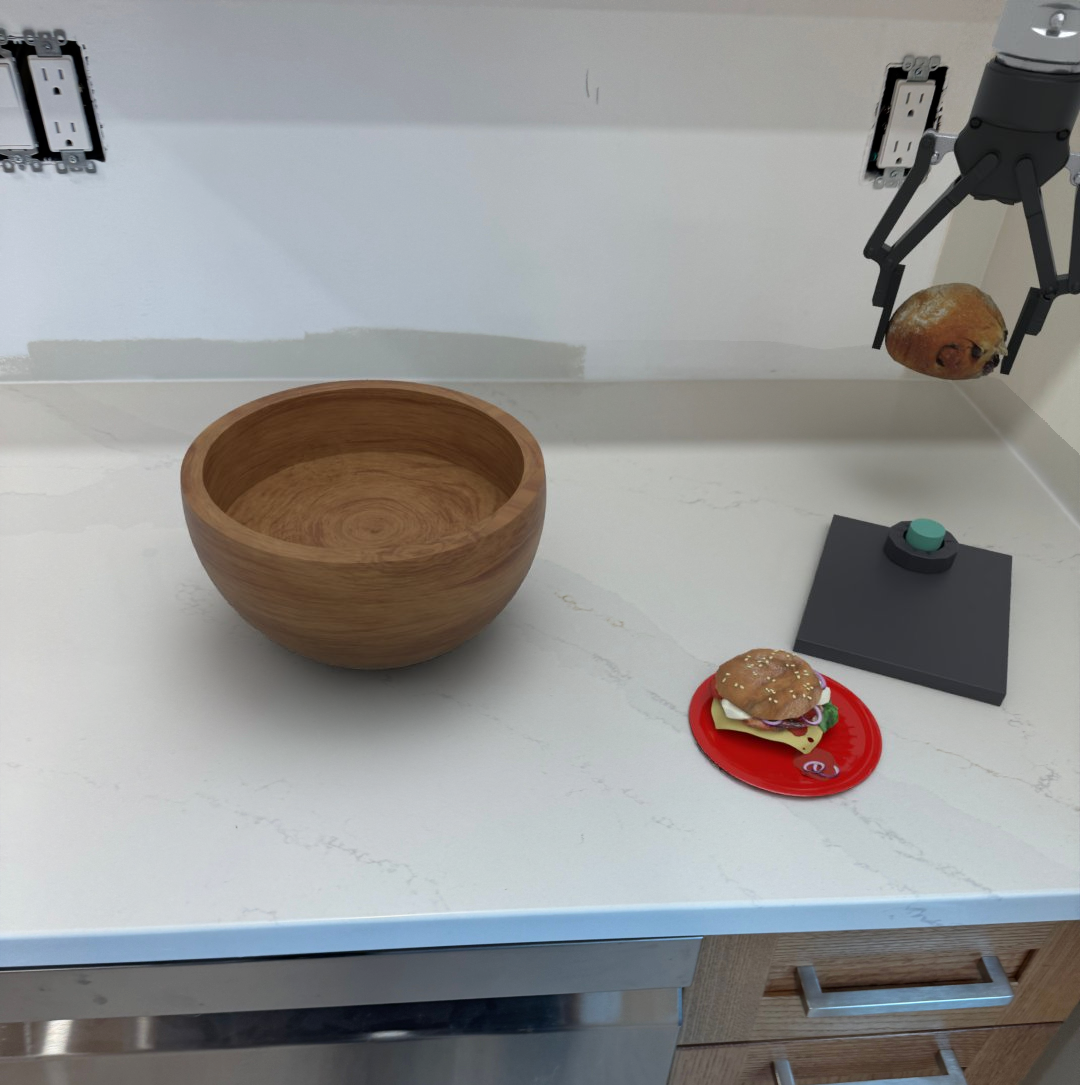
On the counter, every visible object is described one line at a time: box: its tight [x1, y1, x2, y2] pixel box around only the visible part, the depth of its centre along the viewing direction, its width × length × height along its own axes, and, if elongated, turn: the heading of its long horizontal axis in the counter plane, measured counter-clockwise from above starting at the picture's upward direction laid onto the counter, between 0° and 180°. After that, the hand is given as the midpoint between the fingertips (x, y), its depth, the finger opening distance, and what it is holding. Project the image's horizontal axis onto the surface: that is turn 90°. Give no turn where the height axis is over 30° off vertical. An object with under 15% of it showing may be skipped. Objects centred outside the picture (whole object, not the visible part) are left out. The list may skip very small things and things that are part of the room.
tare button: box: [905, 517, 947, 551], centre depth 84 cm, size 3×3×2 cm
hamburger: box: [688, 646, 883, 797], centre depth 68 cm, size 14×14×6 cm
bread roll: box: [884, 282, 1009, 381], centre depth 85 cm, size 10×10×8 cm
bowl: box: [179, 379, 547, 670], centre depth 71 cm, size 25×25×15 cm
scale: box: [791, 513, 1013, 707], centre depth 80 cm, size 16×20×3 cm
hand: (940, 355), depth 86 cm, fingers closed on bread roll, 10 cm apart
